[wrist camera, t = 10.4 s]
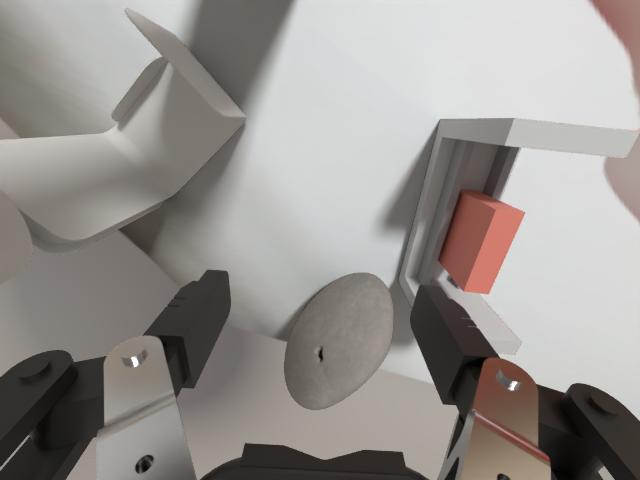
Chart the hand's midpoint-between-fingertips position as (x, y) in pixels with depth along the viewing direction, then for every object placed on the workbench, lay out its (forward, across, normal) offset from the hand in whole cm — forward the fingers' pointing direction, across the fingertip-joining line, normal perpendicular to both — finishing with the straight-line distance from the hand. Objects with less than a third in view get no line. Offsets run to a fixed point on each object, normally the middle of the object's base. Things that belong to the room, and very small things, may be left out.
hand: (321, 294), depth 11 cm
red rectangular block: (+25, -19, +6) cm, 32 cm away
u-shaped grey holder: (+27, -19, +5) cm, 33 cm away
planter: (+27, -3, +19) cm, 33 cm away
